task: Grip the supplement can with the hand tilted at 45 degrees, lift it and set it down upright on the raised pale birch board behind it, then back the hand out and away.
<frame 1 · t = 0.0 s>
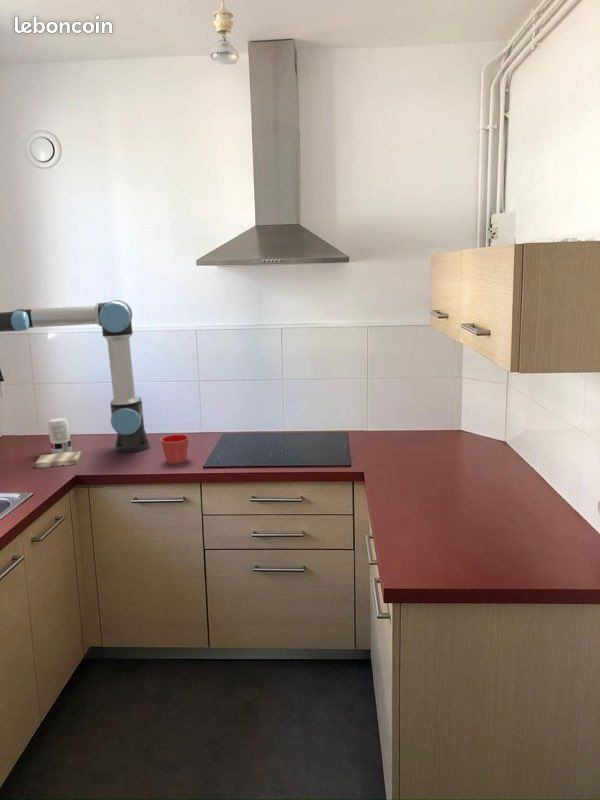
birch board: (59, 461, 258), on the worktop
flower pot: (176, 461, 252), on the worktop
supplement can: (62, 453, 270), on the worktop
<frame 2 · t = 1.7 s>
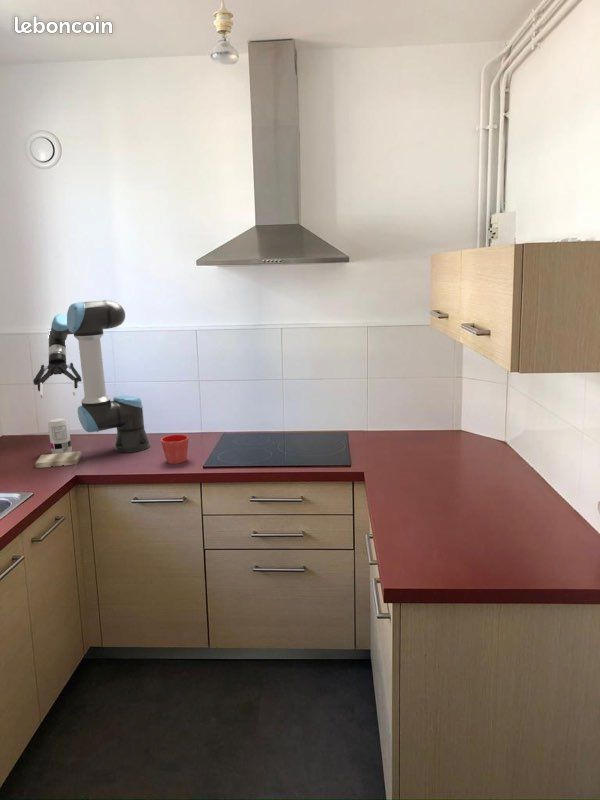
hand: (57, 395, 276), 24 cm above the worktop, tool tilted 45°, fingers open, 13 cm apart
nothing on the worktop moved.
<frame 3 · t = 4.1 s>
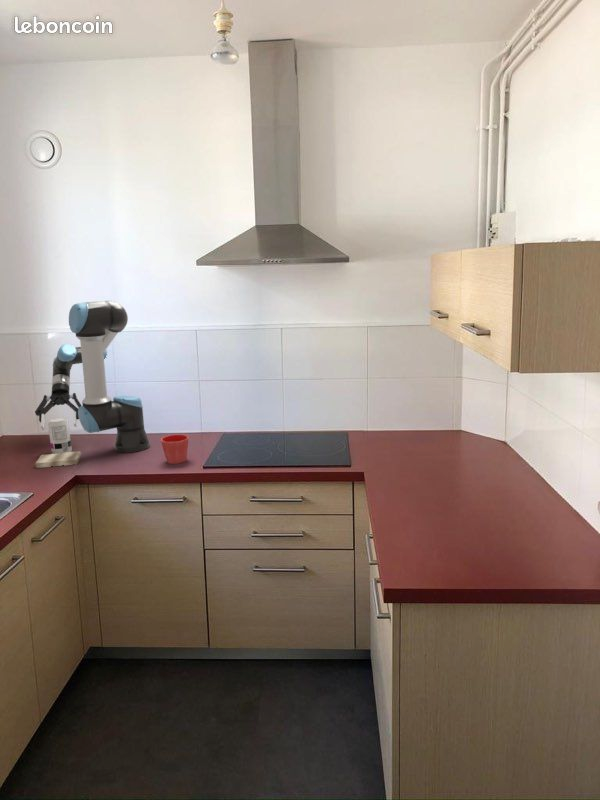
hand: (58, 426, 271), 11 cm above the worktop, tool tilted 45°, fingers open, 13 cm apart
nothing on the worktop moved.
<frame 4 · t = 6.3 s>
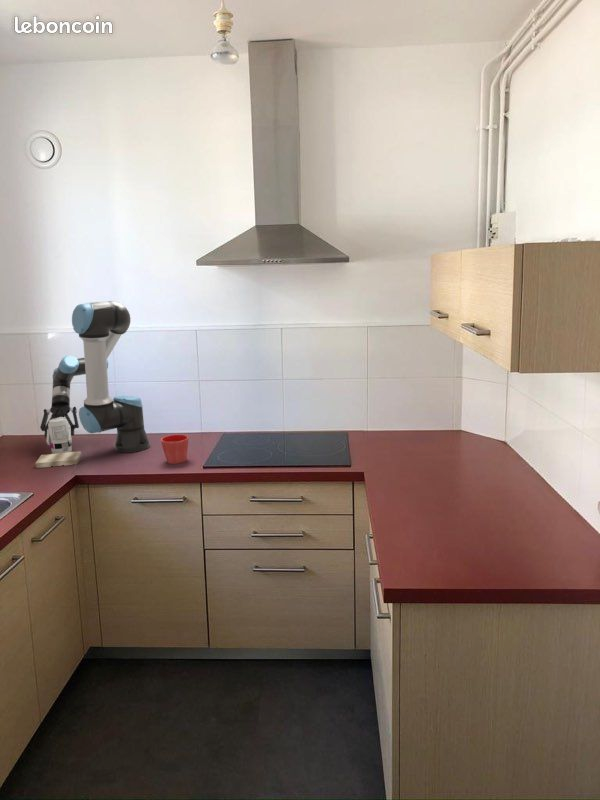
hand: (59, 442, 266), 6 cm above the worktop, tool tilted 45°, fingers closed on supplement can, 8 cm apart
supplement can: (62, 453, 270), on the worktop, touching gripper
everything else where it was.
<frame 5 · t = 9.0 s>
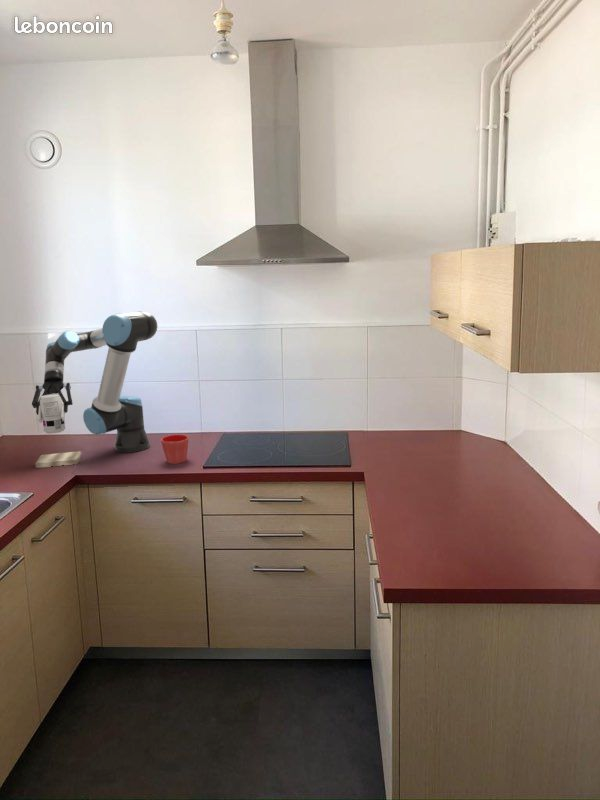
hand: (51, 419, 252), 19 cm above the worktop, tool tilted 45°, fingers closed on supplement can, 8 cm apart
supplement can: (55, 431, 256), point 13 cm above the worktop, touching gripper
everything else where it was.
when the fingers open (9 cm above the worktop, at t = 11.8 s): supplement can drops 1 cm, resting on birch board.
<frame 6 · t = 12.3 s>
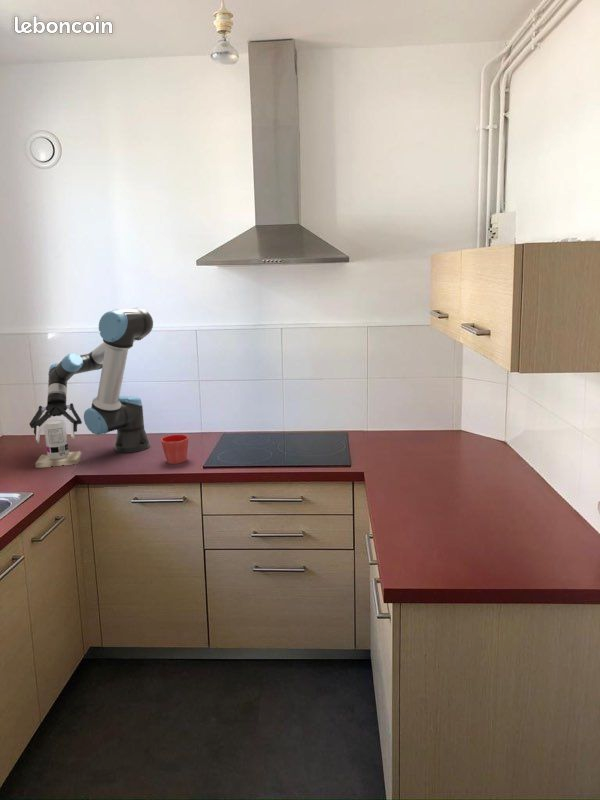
hand: (55, 439, 253), 10 cm above the worktop, tool tilted 45°, fingers open, 13 cm apart
supplement can: (58, 457, 257), point 2 cm above the worktop, touching birch board
everything else where it was.
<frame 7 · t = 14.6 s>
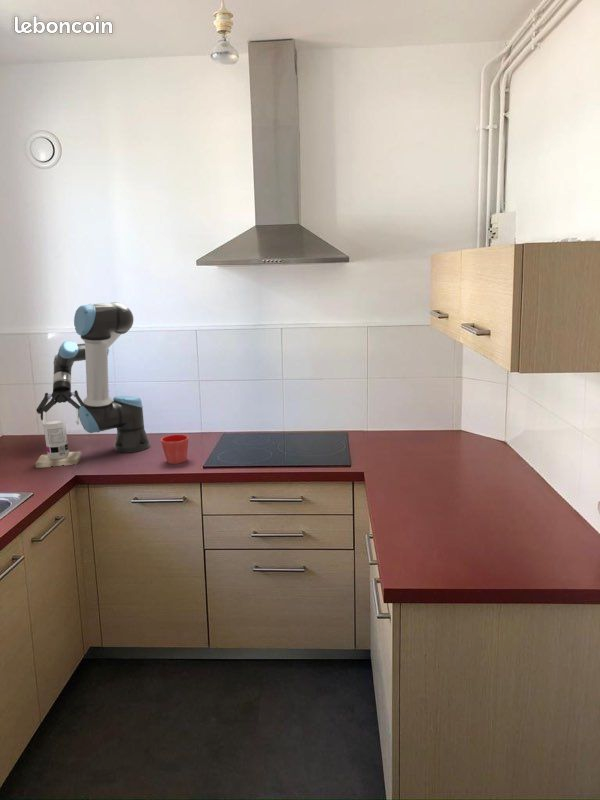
hand: (60, 424, 267), 13 cm above the worktop, tool tilted 45°, fingers open, 13 cm apart
nothing on the worktop moved.
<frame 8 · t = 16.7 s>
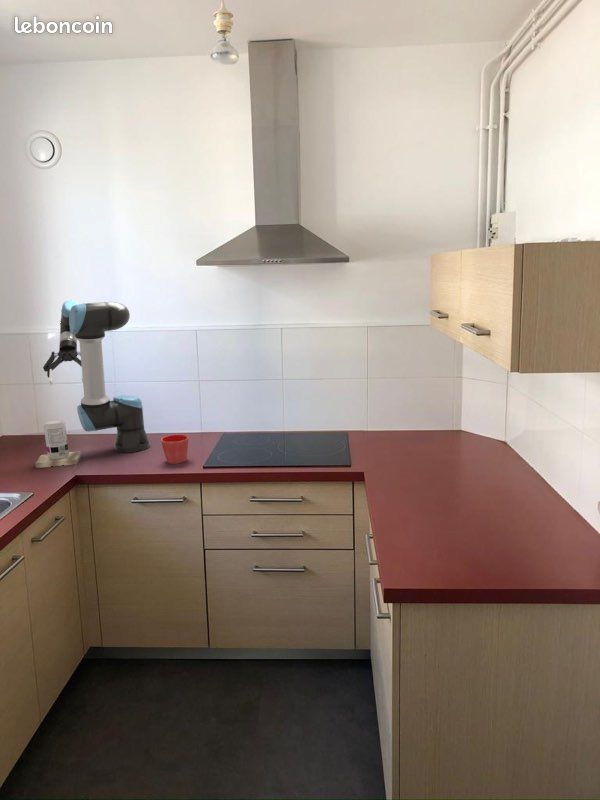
hand: (66, 381, 274), 30 cm above the worktop, tool tilted 45°, fingers open, 13 cm apart
nothing on the worktop moved.
at the end: supplement can inside the target area on the birch board (0.1 cm from its centre), point 1.8 cm above the birch board's base; supplement can tilted 0°; the gripper is holding nothing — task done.
